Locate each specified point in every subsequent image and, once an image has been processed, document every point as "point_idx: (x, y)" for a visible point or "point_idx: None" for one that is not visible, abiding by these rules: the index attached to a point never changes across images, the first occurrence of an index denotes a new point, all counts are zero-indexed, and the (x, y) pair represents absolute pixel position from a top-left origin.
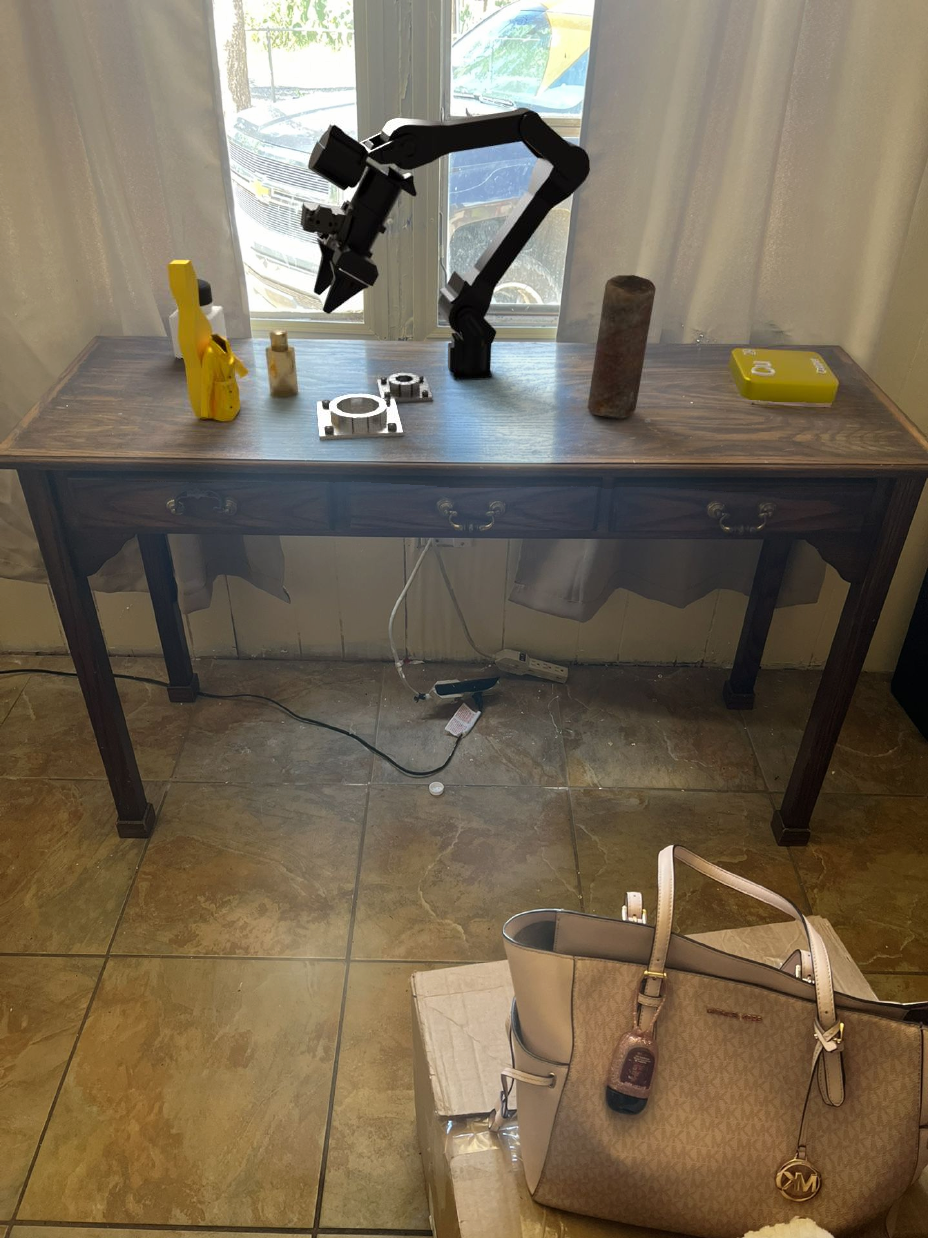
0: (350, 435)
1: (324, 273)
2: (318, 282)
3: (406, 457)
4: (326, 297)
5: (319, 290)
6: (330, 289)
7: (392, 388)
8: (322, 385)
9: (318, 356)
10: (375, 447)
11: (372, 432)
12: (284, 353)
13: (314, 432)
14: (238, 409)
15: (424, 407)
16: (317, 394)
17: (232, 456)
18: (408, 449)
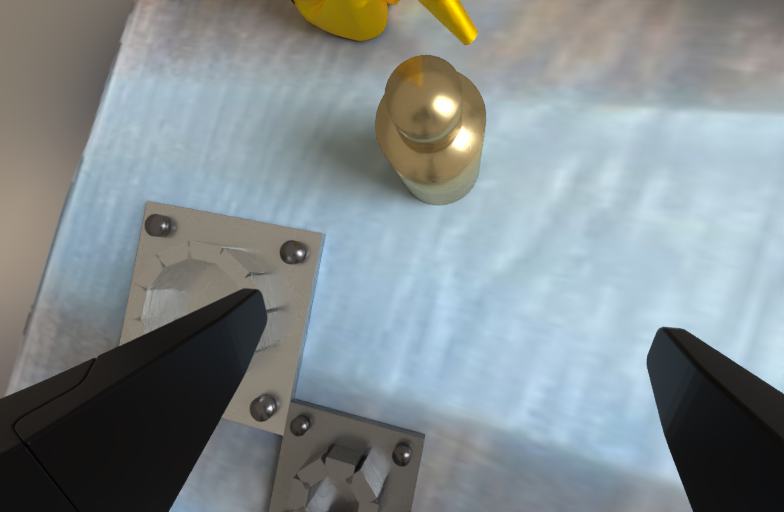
0: (135, 268)
1: (765, 493)
2: (696, 385)
3: (36, 354)
4: (199, 325)
5: (662, 371)
6: (93, 363)
7: (320, 452)
8: (456, 279)
9: (715, 325)
10: (90, 307)
11: (128, 318)
12: (377, 131)
13: (191, 198)
14: (328, 31)
15: (239, 492)
16: (397, 251)
17: (140, 16)
18: (63, 370)
